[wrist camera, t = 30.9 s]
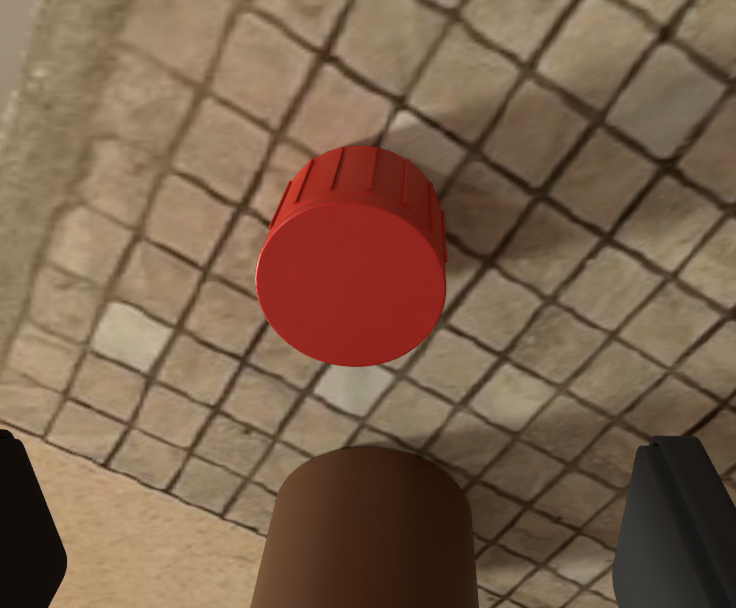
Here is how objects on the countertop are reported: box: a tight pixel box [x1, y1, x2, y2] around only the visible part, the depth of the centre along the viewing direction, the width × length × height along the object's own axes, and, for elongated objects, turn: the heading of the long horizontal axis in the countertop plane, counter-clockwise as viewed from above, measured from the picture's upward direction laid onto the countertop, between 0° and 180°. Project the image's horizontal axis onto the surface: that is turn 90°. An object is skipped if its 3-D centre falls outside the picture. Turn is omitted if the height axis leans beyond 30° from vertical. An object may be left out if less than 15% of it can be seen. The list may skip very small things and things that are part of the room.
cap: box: [255, 146, 447, 367], centre depth 15 cm, size 4×4×3 cm
